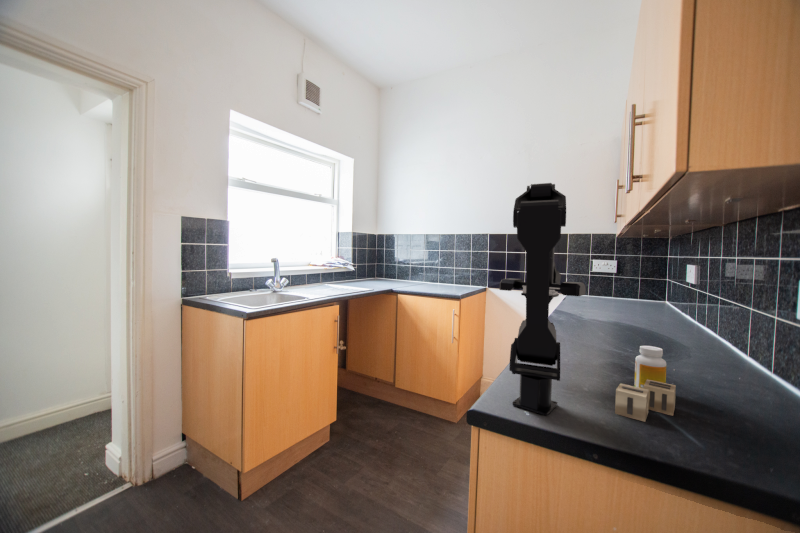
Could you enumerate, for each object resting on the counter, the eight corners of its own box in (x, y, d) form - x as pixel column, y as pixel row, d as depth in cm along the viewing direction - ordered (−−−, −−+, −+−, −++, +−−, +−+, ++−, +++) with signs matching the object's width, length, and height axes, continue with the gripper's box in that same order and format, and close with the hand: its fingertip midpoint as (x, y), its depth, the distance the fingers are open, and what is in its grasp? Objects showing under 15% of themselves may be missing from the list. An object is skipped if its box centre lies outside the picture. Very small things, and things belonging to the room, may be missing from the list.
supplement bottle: (672, 398, 69) (674, 351, 69) (645, 397, 69) (647, 351, 69) (652, 387, 74) (654, 344, 74) (628, 387, 74) (630, 344, 74)
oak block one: (644, 422, 59) (645, 396, 58) (614, 414, 62) (615, 389, 61) (648, 413, 62) (649, 389, 62) (619, 406, 65) (620, 382, 65)
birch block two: (673, 416, 61) (674, 391, 61) (642, 408, 64) (643, 384, 64) (674, 408, 64) (675, 384, 64) (646, 401, 67) (646, 378, 67)
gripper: (592, 258, 81) (590, 322, 81) (517, 257, 93) (515, 313, 94) (579, 258, 72) (577, 329, 73) (499, 257, 85) (497, 318, 85)
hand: (539, 321), depth 81 cm, fingers closed
